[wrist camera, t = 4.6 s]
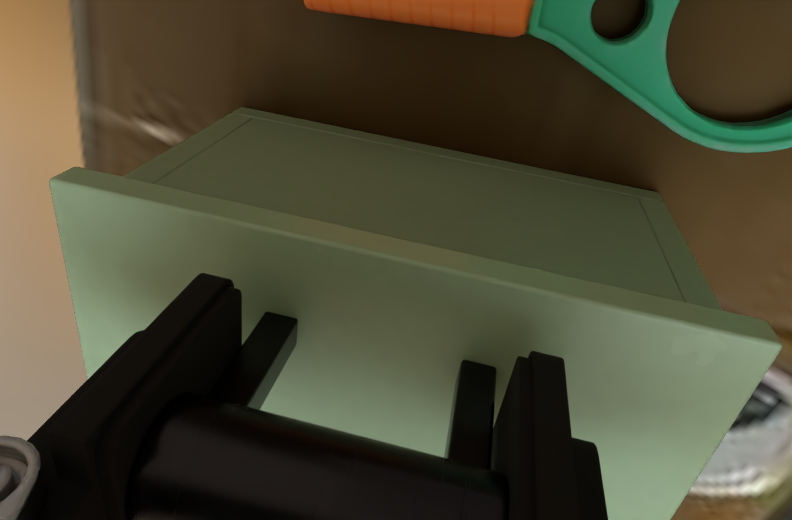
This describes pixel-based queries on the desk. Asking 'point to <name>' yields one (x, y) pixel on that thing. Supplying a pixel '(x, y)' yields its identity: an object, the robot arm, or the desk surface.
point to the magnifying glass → (588, 56)
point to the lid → (387, 364)
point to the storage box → (439, 200)
